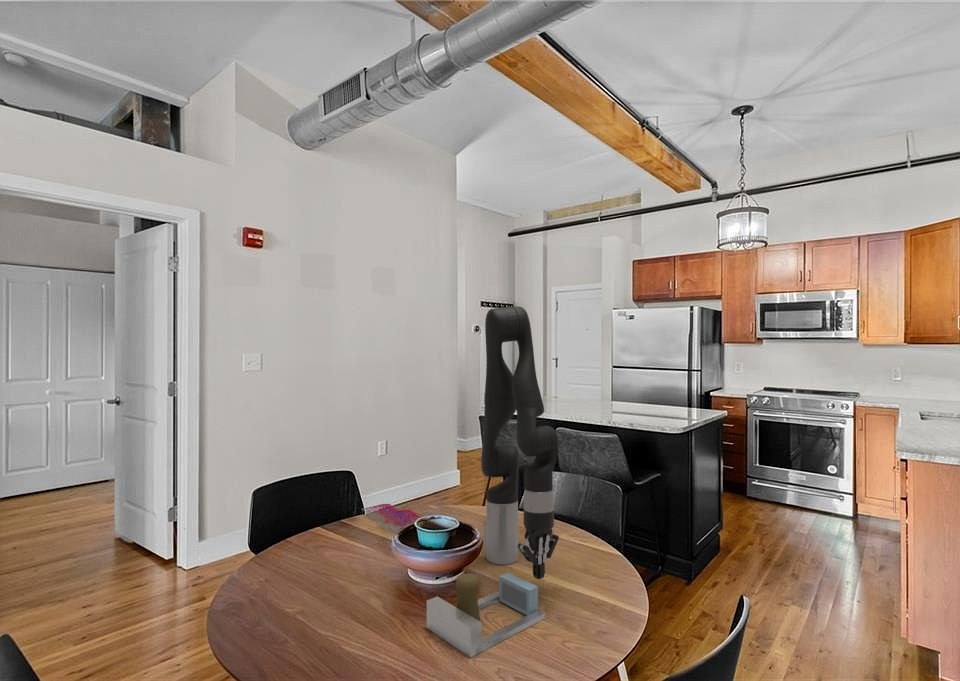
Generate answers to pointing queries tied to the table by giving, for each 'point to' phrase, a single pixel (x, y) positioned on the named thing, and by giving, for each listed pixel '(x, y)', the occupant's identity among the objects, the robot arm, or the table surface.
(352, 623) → the table surface
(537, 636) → the table surface
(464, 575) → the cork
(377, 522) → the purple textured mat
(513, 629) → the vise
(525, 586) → the free jaw
